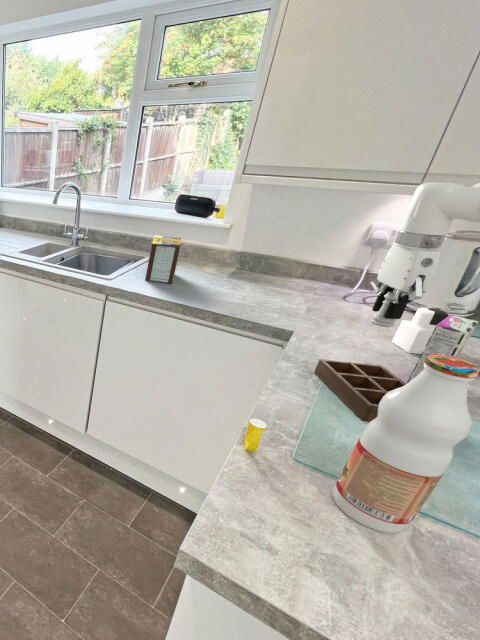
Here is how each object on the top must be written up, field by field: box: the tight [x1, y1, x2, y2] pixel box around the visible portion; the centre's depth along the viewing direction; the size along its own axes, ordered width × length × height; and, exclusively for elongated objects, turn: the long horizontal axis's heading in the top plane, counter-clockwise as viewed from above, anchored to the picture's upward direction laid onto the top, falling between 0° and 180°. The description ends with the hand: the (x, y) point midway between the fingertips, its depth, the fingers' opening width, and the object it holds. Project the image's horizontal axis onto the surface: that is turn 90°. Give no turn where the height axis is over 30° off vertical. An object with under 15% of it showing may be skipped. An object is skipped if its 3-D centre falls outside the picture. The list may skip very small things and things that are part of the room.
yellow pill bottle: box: [244, 418, 268, 453], centre depth 79 cm, size 6×3×6 cm, turn 150°
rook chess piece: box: [369, 292, 403, 328], centre depth 100 cm, size 4×4×8 cm
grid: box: [313, 358, 407, 423], centre depth 94 cm, size 13×20×4 cm
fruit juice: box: [332, 354, 480, 534], centre depth 61 cm, size 9×9×28 cm
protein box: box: [144, 234, 182, 285], centre depth 170 cm, size 10×15×16 cm
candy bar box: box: [406, 314, 479, 384], centre depth 98 cm, size 11×5×16 cm, turn 122°
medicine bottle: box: [391, 306, 450, 355], centre depth 115 cm, size 7×7×12 cm
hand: (385, 314), depth 101 cm, fingers closed on rook chess piece, 3 cm apart
